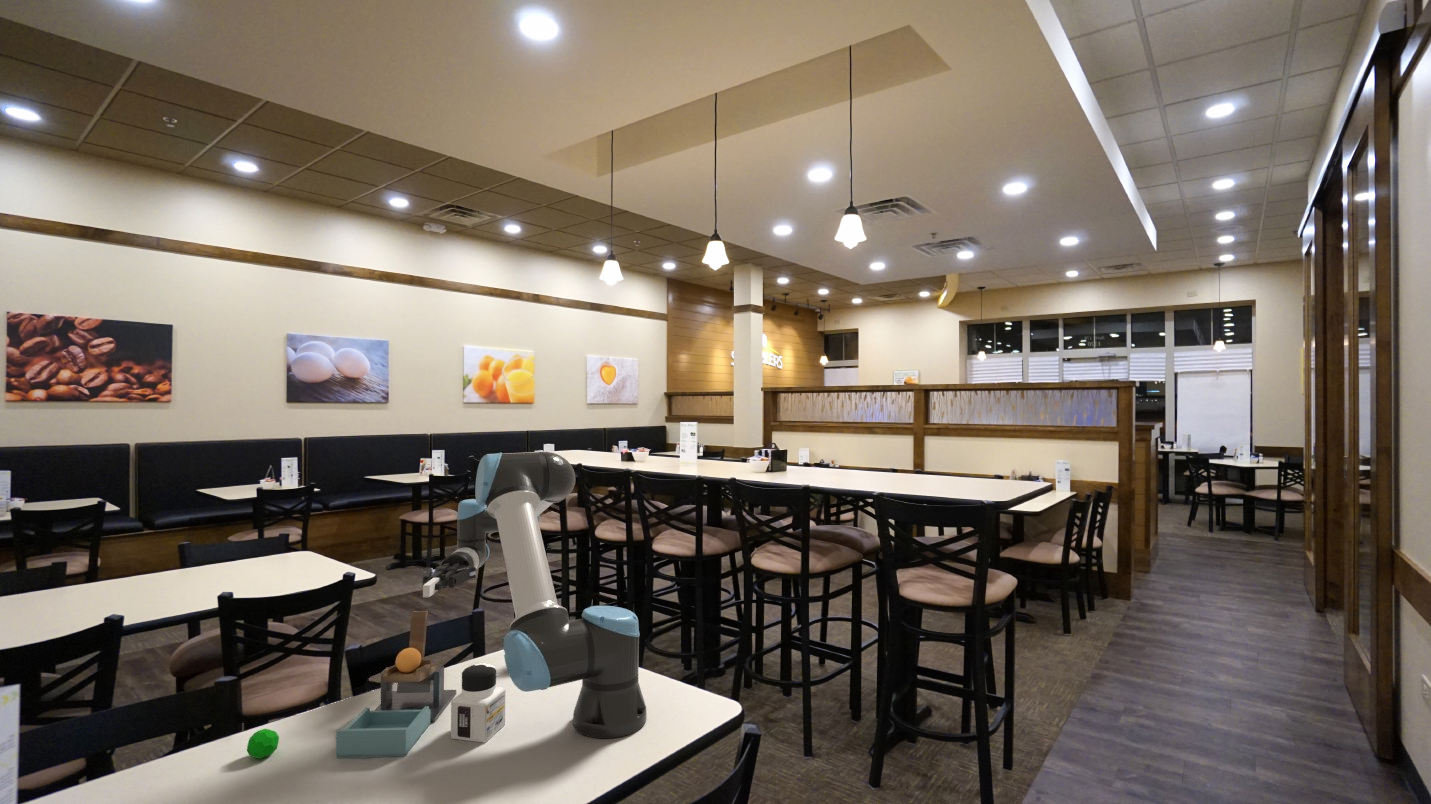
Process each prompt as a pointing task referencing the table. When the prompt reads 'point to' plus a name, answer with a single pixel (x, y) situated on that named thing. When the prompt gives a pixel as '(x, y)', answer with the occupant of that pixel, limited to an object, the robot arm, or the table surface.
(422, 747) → the table surface
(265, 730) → the polyhedron
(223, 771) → the table surface
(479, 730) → the container
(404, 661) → the ball
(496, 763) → the table surface
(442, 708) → the stand
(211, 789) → the table surface
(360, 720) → the tray
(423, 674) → the brown wooden catapult
